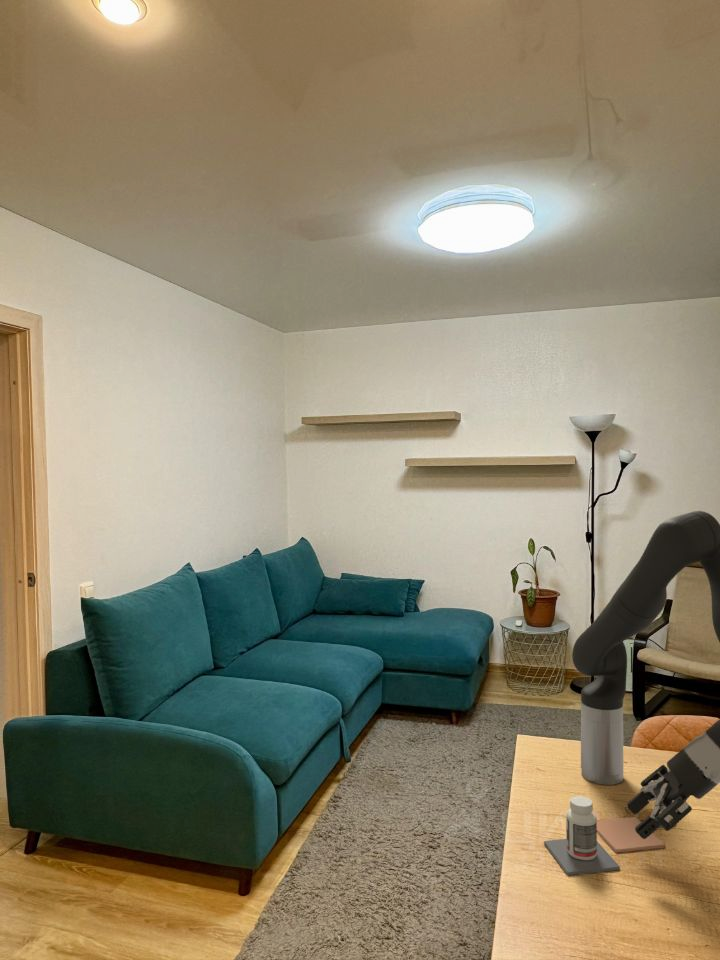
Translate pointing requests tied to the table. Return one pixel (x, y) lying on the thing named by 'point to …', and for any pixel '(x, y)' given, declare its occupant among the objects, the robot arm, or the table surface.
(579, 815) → the pill bottle
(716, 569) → the robot arm
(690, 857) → the table surface
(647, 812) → the cookie
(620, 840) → the terracotta coaster
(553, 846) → the slate coaster
